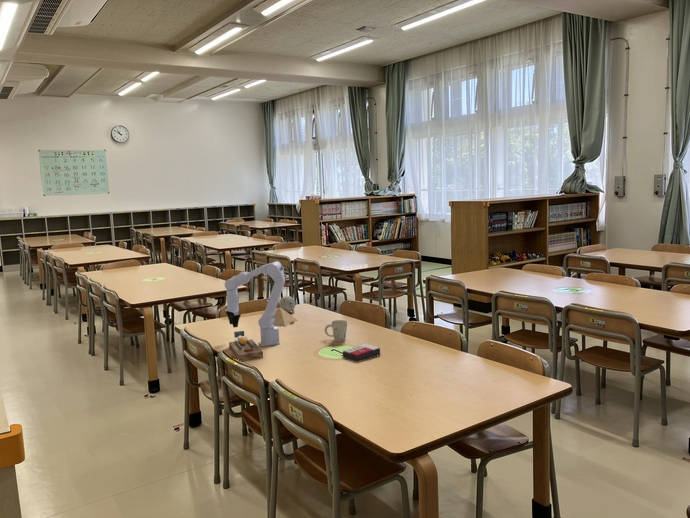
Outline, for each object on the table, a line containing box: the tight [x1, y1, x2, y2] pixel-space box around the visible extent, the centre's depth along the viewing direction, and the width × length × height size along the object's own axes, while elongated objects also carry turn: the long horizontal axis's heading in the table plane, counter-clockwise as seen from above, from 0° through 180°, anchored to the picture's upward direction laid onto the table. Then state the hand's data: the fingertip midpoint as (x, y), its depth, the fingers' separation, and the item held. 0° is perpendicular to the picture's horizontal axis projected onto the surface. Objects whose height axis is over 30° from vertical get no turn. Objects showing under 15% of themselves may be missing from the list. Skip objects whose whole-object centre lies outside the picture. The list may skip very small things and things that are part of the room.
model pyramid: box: [273, 307, 299, 328], centre depth 332 cm, size 17×17×10 cm
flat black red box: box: [342, 343, 381, 362], centre depth 263 cm, size 11×4×15 cm
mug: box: [324, 319, 348, 342], centre depth 291 cm, size 8×13×10 cm, turn 78°
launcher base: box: [228, 337, 264, 362], centre depth 273 cm, size 12×24×4 cm, turn 22°
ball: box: [240, 337, 248, 345], centre depth 277 cm, size 4×4×4 cm
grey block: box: [233, 330, 247, 343], centre depth 283 cm, size 5×8×4 cm, turn 22°
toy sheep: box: [278, 295, 296, 314], centre depth 358 cm, size 11×17×11 cm, turn 34°
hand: (233, 325), depth 290 cm, fingers open, 7 cm apart
